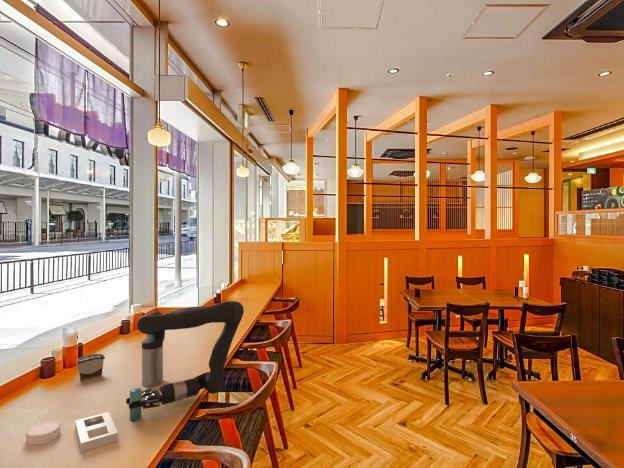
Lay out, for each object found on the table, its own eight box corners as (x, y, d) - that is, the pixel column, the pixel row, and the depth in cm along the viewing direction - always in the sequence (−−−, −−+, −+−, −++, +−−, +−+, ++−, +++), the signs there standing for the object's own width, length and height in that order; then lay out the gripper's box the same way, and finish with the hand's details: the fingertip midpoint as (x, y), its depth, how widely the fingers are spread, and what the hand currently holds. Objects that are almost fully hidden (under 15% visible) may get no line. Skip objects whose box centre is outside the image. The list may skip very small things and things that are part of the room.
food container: (101, 371, 194) (101, 351, 194) (105, 374, 190) (105, 354, 190) (73, 377, 186) (73, 357, 185) (76, 381, 181) (76, 360, 181)
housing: (75, 428, 140) (75, 420, 140) (108, 419, 146) (108, 411, 146) (80, 452, 125) (80, 442, 125) (117, 441, 132) (117, 432, 132)
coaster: (19, 442, 131) (19, 432, 131) (48, 427, 141) (48, 418, 140) (38, 448, 128) (38, 438, 128) (67, 433, 137) (67, 423, 137)
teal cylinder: (128, 417, 148) (128, 389, 148) (139, 414, 150) (139, 387, 150) (131, 422, 145) (131, 393, 144) (142, 419, 147) (142, 390, 147)
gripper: (168, 377, 162) (123, 387, 151) (178, 389, 150) (131, 401, 140) (168, 395, 162) (123, 406, 151) (178, 408, 150) (131, 421, 140)
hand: (127, 403), depth 146 cm, fingers open, 4 cm apart
